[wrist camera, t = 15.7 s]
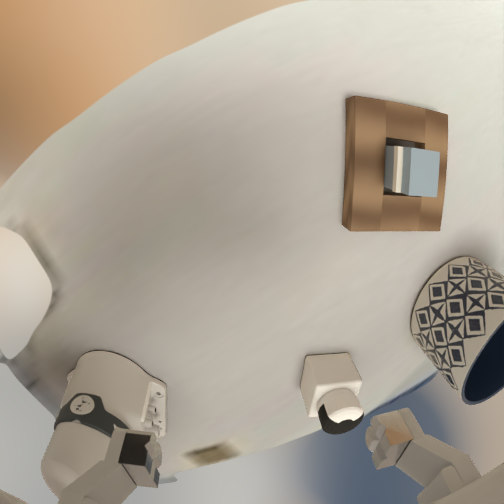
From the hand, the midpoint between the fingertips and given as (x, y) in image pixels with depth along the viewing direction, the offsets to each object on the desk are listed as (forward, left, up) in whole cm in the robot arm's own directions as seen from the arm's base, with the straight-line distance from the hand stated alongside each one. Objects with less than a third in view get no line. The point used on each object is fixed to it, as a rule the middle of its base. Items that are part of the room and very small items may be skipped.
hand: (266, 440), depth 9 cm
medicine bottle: (-24, -13, -29) cm, 40 cm away
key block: (+8, -19, -28) cm, 35 cm away
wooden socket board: (+8, -20, -29) cm, 36 cm away
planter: (-14, -36, -29) cm, 48 cm away
